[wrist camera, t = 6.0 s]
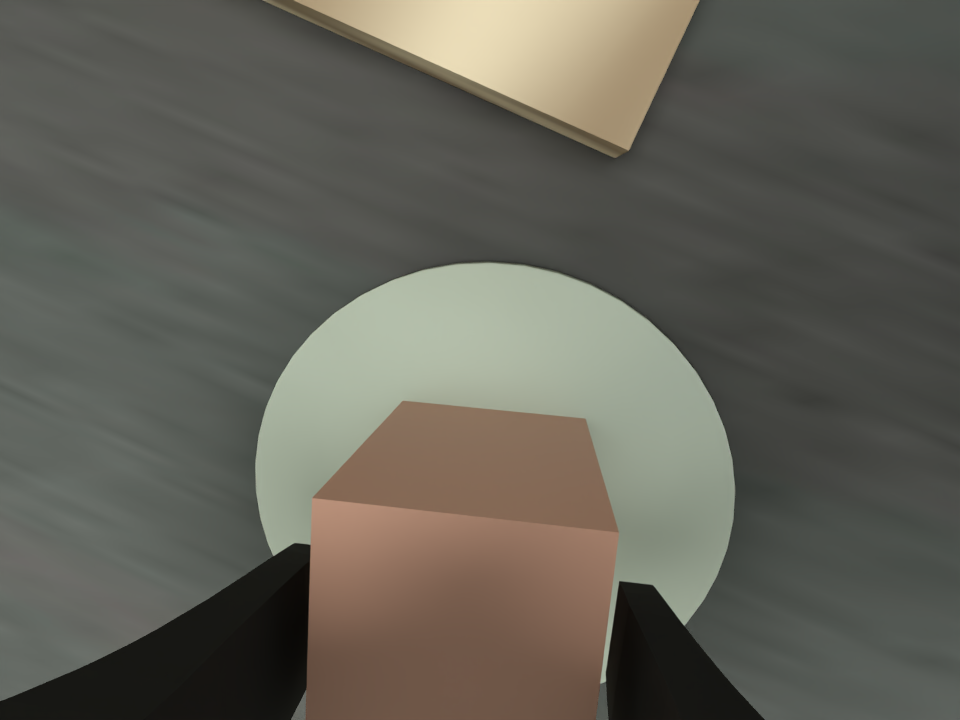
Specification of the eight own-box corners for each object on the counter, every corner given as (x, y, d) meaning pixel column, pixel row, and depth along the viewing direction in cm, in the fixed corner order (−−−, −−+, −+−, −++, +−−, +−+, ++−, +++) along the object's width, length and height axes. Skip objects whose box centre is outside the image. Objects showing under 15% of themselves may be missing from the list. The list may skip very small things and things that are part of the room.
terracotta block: (585, 418, 14) (618, 532, 8) (566, 588, 15) (585, 801, 9) (402, 400, 15) (311, 498, 9) (393, 567, 15) (304, 760, 10)
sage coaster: (823, 387, 14) (835, 395, 14) (595, 746, 17) (597, 765, 17) (353, 177, 14) (345, 177, 13) (213, 580, 17) (202, 593, 17)
